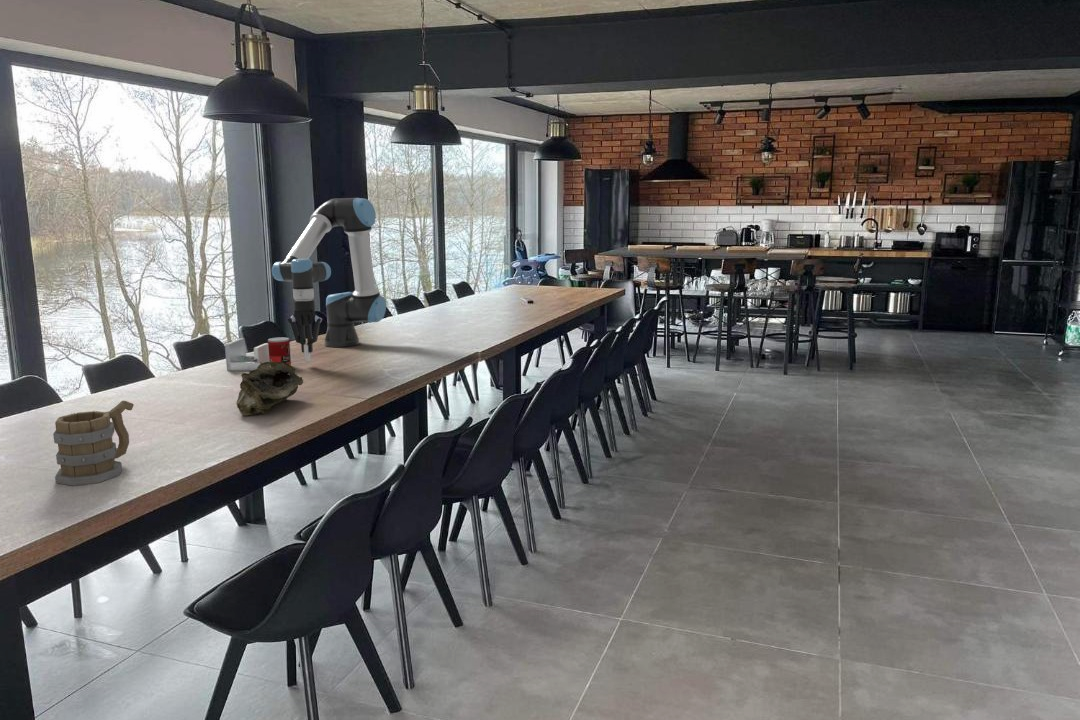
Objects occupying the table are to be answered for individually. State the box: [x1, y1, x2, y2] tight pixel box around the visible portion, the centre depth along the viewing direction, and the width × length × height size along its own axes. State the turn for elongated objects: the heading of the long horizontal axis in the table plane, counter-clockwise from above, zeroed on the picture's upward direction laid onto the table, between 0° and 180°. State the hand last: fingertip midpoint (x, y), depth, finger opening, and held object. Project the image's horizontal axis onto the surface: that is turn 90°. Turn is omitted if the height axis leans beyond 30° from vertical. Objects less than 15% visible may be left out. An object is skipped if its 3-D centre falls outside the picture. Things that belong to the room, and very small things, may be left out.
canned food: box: [267, 336, 292, 367], centre depth 296 cm, size 8×8×11 cm
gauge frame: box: [224, 337, 262, 371], centre depth 296 cm, size 14×13×10 cm
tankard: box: [53, 400, 135, 487], centre depth 178 cm, size 20×13×15 cm, turn 158°
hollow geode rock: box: [235, 362, 304, 417], centre depth 236 cm, size 28×13×15 cm
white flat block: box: [253, 342, 270, 363], centre depth 295 cm, size 13×2×8 cm, turn 177°
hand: (307, 360), depth 296 cm, fingers closed
